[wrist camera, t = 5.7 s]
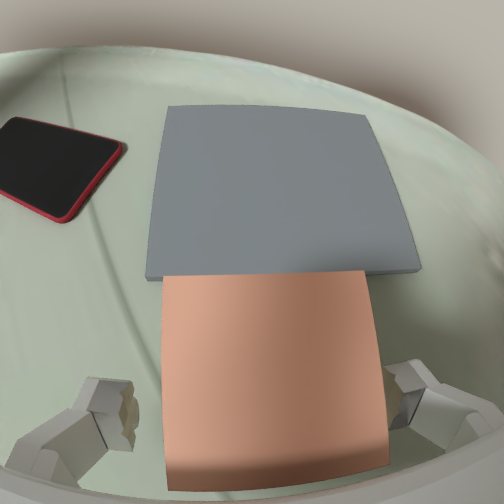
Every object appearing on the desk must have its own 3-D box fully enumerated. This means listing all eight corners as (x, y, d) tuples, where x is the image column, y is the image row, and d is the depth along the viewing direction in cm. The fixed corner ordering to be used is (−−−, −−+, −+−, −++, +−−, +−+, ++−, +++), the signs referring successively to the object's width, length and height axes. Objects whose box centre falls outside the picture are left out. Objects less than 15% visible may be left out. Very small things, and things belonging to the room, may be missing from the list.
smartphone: (13, 115, 22) (126, 142, 21) (16, 121, 23) (128, 150, 21) (-37, 171, 19) (62, 223, 17) (-33, 178, 19) (68, 231, 18)
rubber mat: (147, 280, 17) (145, 276, 16) (168, 112, 23) (168, 106, 22) (416, 272, 18) (421, 268, 18) (362, 120, 25) (365, 115, 24)
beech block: (198, 444, 13) (168, 490, 5) (193, 345, 15) (163, 275, 7) (301, 437, 14) (389, 464, 6) (293, 341, 16) (364, 270, 8)
